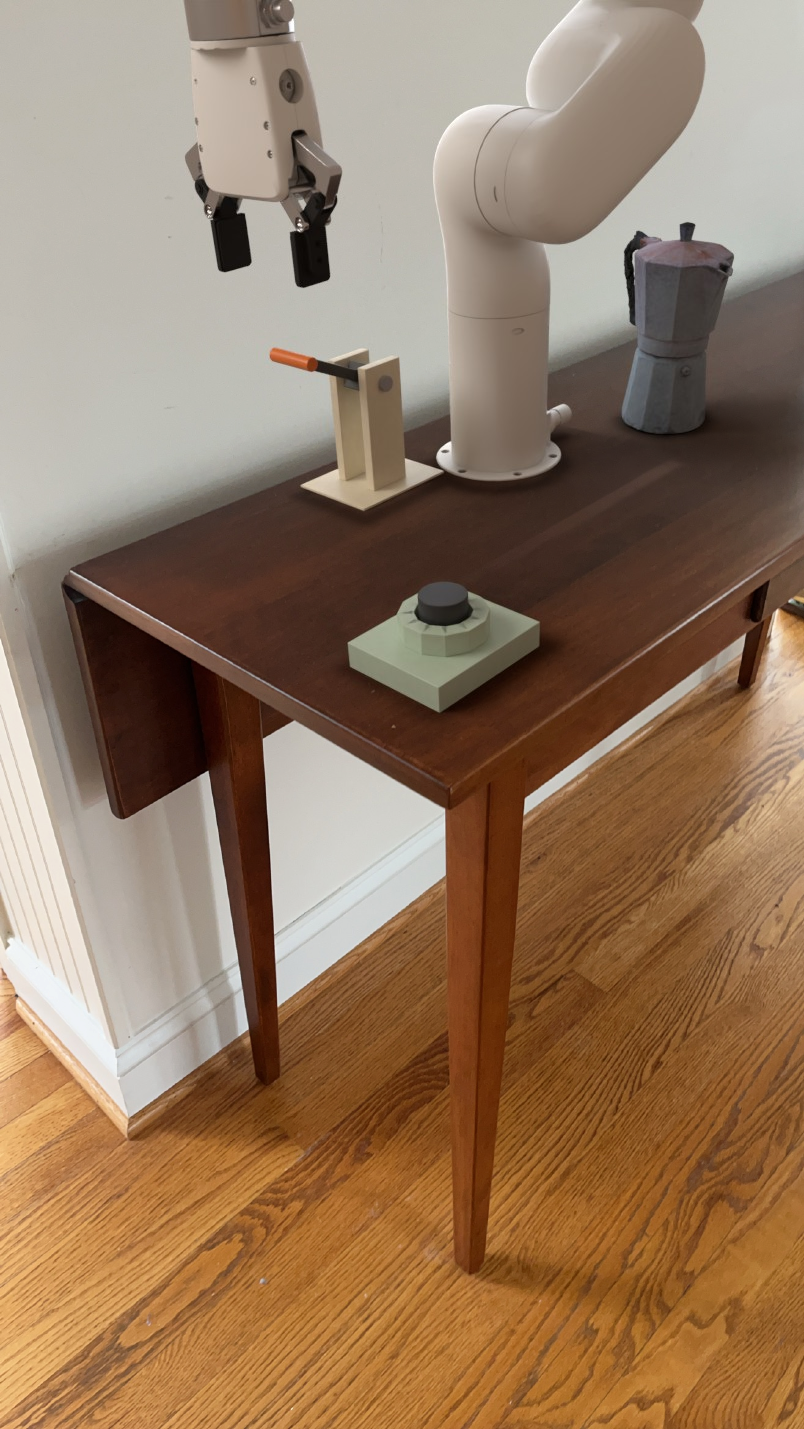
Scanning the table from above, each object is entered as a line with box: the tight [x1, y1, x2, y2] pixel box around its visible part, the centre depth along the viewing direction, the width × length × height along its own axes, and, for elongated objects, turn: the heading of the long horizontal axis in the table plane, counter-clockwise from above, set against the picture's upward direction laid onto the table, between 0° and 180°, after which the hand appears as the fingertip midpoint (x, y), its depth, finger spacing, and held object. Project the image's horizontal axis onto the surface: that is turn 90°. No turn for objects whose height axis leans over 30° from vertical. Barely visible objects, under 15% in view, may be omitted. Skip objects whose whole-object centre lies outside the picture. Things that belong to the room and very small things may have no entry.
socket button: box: [417, 581, 469, 626], centre depth 73 cm, size 4×4×2 cm
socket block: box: [347, 591, 541, 713], centre depth 75 cm, size 11×9×4 cm
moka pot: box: [621, 221, 735, 435], centre depth 106 cm, size 10×15×20 cm, turn 33°
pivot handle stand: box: [300, 347, 445, 512], centre depth 97 cm, size 11×9×13 cm
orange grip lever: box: [269, 346, 367, 391], centre depth 91 cm, size 11×5×2 cm, turn 136°
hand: (273, 275), depth 83 cm, fingers open, 9 cm apart
